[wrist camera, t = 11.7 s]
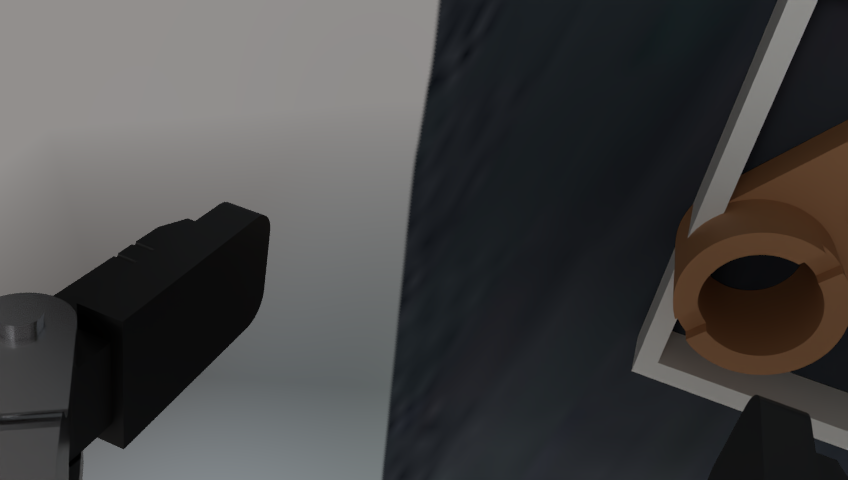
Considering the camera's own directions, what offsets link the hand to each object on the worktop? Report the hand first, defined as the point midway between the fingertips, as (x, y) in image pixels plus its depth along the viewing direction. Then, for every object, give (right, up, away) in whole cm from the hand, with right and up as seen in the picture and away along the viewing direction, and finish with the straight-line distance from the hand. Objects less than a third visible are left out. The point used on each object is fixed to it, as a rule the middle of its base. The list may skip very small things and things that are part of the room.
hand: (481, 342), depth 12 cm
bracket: (+22, +4, +30) cm, 38 cm away
